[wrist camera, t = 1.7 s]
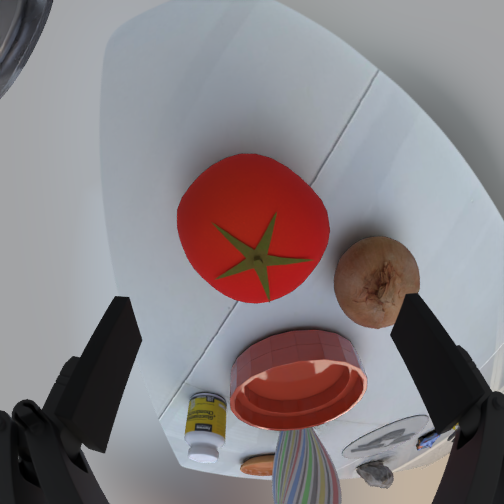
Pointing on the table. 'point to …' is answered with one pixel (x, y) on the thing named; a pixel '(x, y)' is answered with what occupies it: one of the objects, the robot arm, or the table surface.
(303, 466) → the vase
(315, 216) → the tomato
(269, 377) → the red bowl
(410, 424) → the plate
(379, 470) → the rock
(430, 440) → the toy car
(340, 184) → the table surface
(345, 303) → the onion
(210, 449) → the pill bottle
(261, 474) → the saucer
